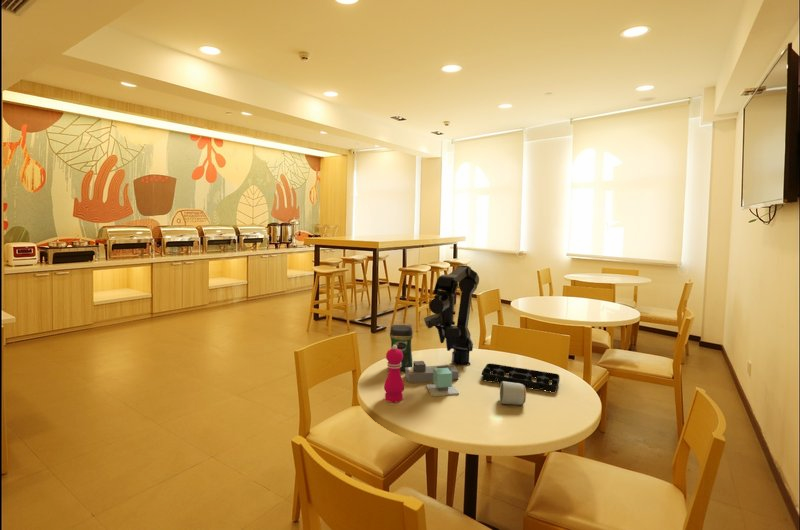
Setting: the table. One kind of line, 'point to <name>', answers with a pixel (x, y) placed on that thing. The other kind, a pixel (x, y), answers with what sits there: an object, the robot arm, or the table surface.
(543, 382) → the egg carton
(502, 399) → the ceramic mug
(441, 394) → the mat
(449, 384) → the green block
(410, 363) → the coffee jar
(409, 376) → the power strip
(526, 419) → the table surface
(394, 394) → the pepper mill
